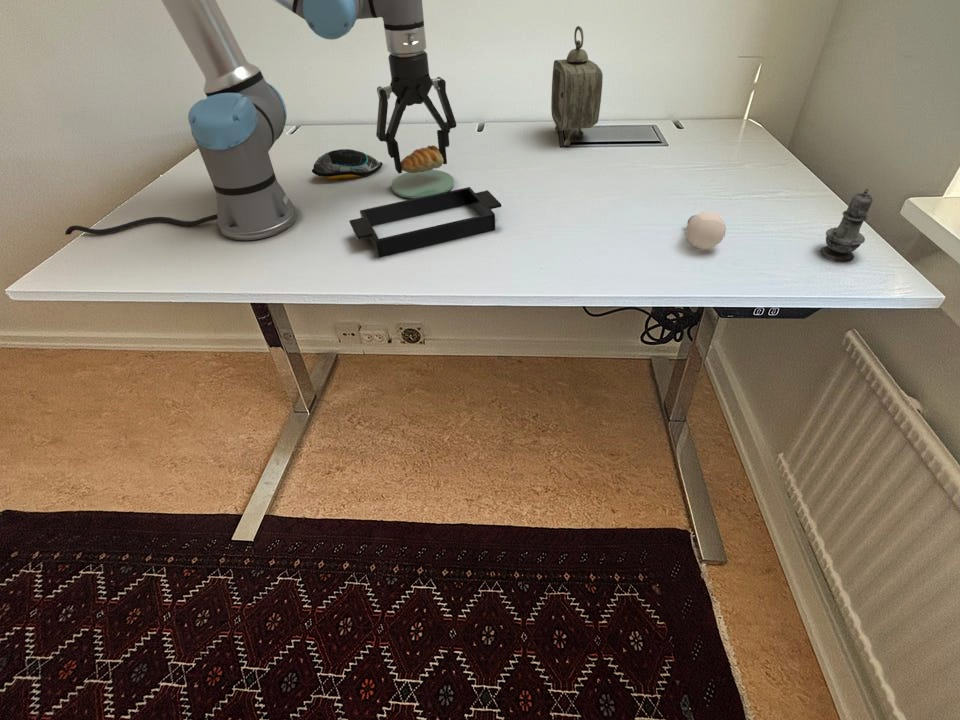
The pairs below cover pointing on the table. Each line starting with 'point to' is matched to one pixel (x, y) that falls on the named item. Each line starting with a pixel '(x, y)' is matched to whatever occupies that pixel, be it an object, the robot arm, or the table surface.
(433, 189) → the plate
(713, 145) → the table surface
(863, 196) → the grey chess piece
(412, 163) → the pastry
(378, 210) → the pan
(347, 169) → the black domed oval piece
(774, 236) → the table surface
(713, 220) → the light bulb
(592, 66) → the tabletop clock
